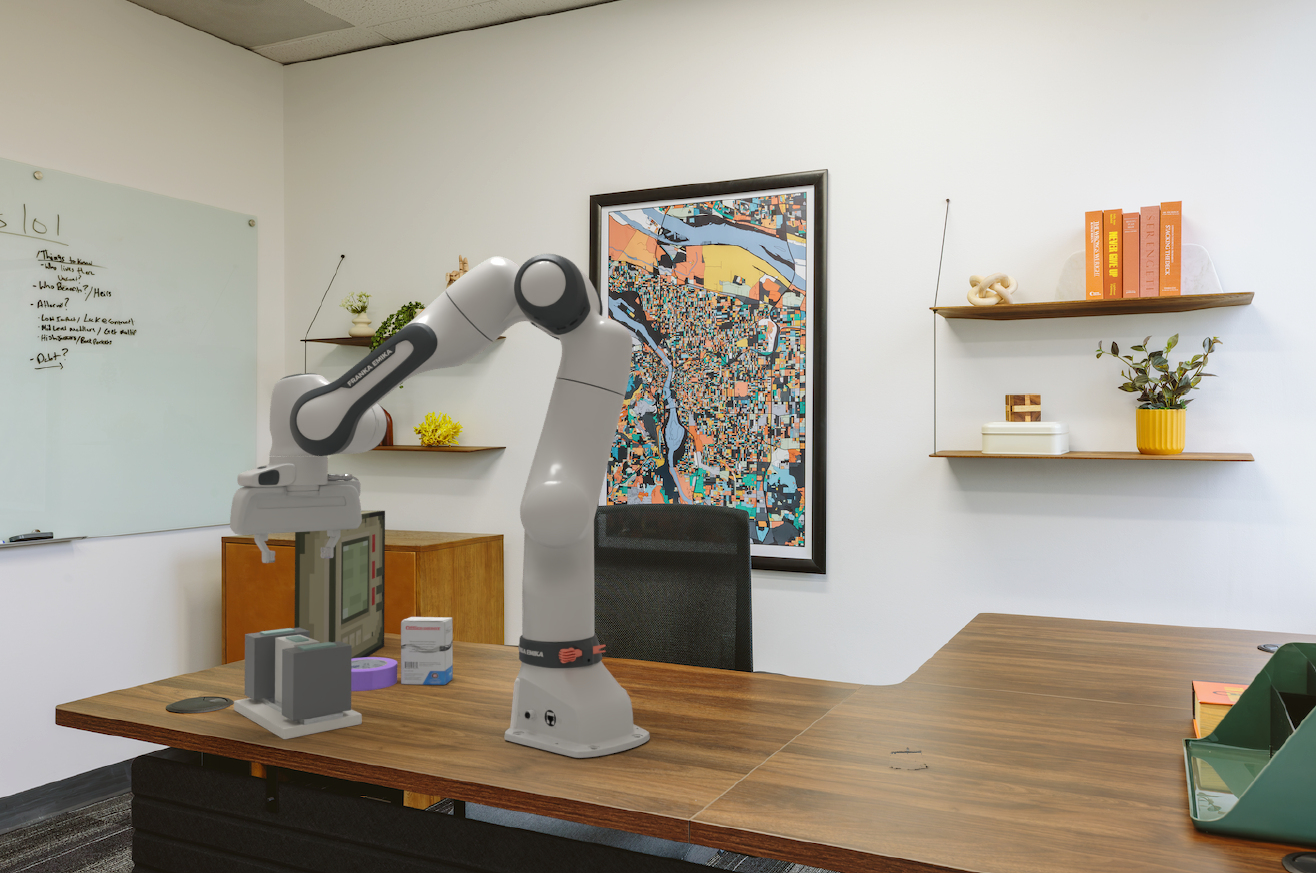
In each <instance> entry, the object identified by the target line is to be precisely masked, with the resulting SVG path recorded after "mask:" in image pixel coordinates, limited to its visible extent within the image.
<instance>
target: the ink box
mask: <svg viewBox="0 0 1316 873" xmlns="http://www.w3.org/2000/svg"><path fill="white" fill-rule="evenodd" d="M453 626H454V625H453V617H441V616H440V617H438V616H437V617H436V616H435V617H433V616H425V617H424V616H410V617H408V618H404V619H402V620H401V622H400V684H401V685H425V686H426V685H429V686H430V685H431V686H433V685H434V686H436V685H437V686H440V685H441V686H445V685H447V684H448V683H449V682H451V681H452V680H453V679H454V677H453V676H454V674H453V673H454V672H453V670H454V669H453V668H454V666H453V664H454V663H453V660H454V659H453V658H454V657H453V656H454V654H453V645H454V644H453Z"/></svg>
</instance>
